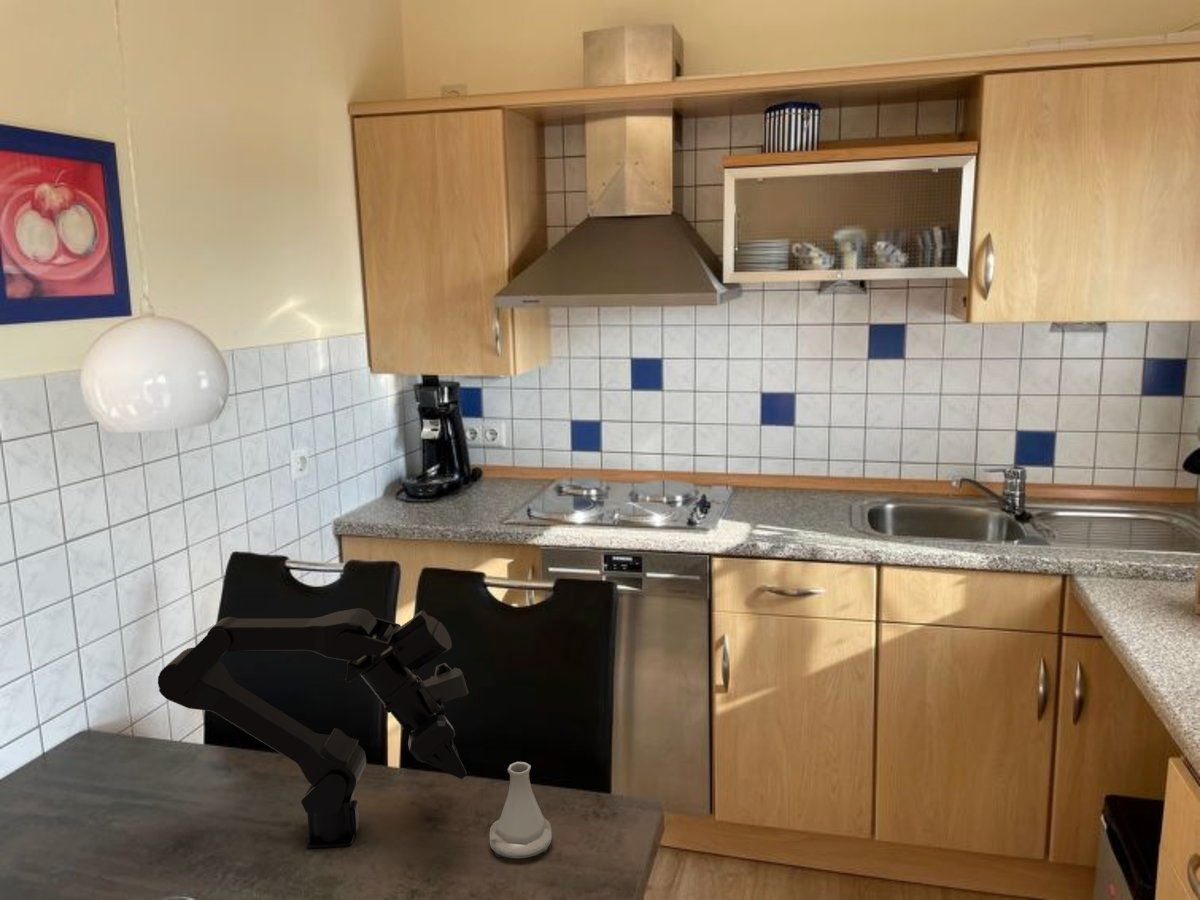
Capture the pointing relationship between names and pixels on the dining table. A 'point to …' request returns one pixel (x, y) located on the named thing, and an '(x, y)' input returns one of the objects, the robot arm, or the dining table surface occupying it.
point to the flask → (520, 809)
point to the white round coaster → (520, 844)
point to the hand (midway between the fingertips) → (460, 766)
